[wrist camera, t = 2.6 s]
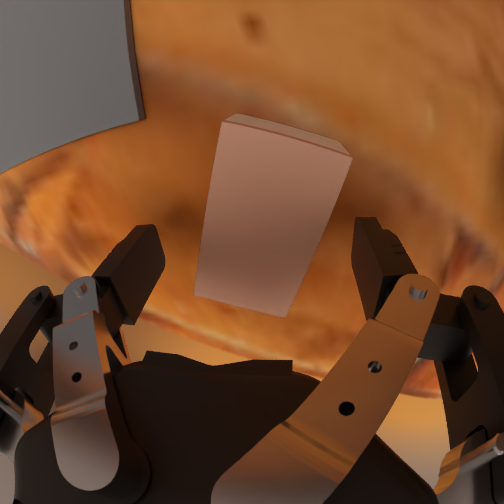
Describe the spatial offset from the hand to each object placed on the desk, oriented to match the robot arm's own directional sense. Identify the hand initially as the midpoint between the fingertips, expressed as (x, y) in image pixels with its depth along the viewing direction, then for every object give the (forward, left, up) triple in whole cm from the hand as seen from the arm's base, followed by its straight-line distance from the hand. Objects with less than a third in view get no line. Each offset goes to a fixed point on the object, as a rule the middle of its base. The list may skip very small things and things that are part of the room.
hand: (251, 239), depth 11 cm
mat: (+15, -13, -3) cm, 20 cm away
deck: (0, 0, -3) cm, 3 cm away
